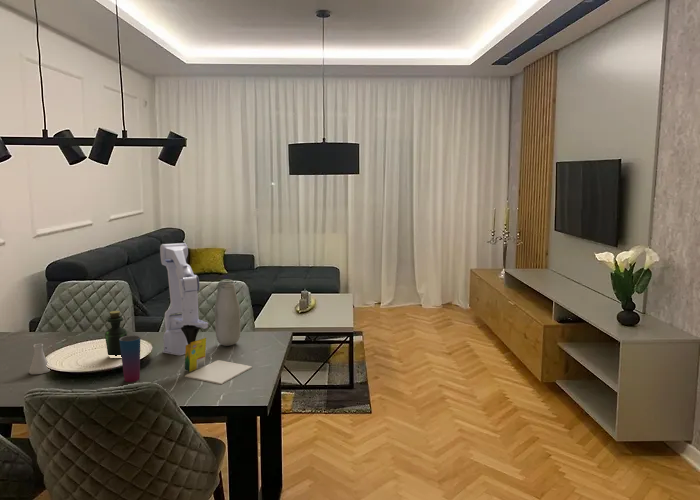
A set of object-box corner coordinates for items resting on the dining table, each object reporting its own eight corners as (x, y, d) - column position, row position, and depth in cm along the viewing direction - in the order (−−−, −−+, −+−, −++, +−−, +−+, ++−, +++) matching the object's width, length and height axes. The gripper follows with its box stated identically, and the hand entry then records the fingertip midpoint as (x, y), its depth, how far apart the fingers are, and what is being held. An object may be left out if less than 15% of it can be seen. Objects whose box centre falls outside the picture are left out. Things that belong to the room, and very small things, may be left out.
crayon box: (200, 363, 206) (201, 335, 203) (205, 366, 204) (207, 337, 202) (183, 369, 200) (185, 340, 197) (189, 372, 198) (190, 342, 196)
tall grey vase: (228, 339, 237) (227, 276, 233) (245, 344, 231) (243, 279, 227) (211, 345, 229) (208, 280, 225) (227, 350, 223) (225, 283, 219)
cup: (129, 384, 187) (127, 342, 185) (117, 380, 190) (115, 338, 188) (146, 378, 192) (144, 337, 190) (134, 374, 196) (132, 334, 194)
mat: (185, 376, 194) (185, 375, 194) (217, 361, 210) (217, 359, 210) (221, 384, 187) (221, 383, 187) (252, 367, 203) (252, 366, 203)
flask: (28, 376, 194) (25, 349, 192) (29, 369, 200) (27, 343, 199) (51, 373, 197) (49, 346, 196) (51, 366, 203) (49, 340, 202)
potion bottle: (129, 352, 220) (126, 308, 217) (127, 358, 212) (125, 313, 210) (107, 354, 218) (104, 310, 215) (105, 360, 210) (102, 315, 207)
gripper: (167, 309, 199) (168, 345, 201) (198, 313, 193) (199, 350, 195) (180, 305, 205) (182, 339, 207) (211, 309, 199) (212, 345, 201)
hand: (191, 344), depth 201 cm, fingers closed
